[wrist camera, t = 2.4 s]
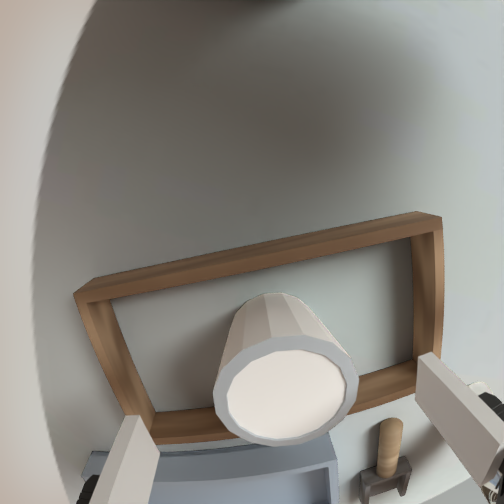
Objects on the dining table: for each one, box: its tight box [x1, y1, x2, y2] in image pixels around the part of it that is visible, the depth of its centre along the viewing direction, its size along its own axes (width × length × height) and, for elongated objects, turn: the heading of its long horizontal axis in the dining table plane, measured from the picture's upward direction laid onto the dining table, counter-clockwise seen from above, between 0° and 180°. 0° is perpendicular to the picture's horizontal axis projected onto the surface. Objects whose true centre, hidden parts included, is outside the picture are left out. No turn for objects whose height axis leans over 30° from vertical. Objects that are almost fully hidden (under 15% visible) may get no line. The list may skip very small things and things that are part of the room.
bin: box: [81, 432, 339, 504], centre depth 22 cm, size 12×21×4 cm, turn 102°
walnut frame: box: [73, 211, 444, 445], centre depth 19 cm, size 12×21×3 cm, turn 102°
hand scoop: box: [359, 418, 412, 504], centre depth 23 cm, size 13×5×2 cm, turn 12°
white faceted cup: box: [213, 292, 359, 447], centre depth 17 cm, size 7×7×7 cm
